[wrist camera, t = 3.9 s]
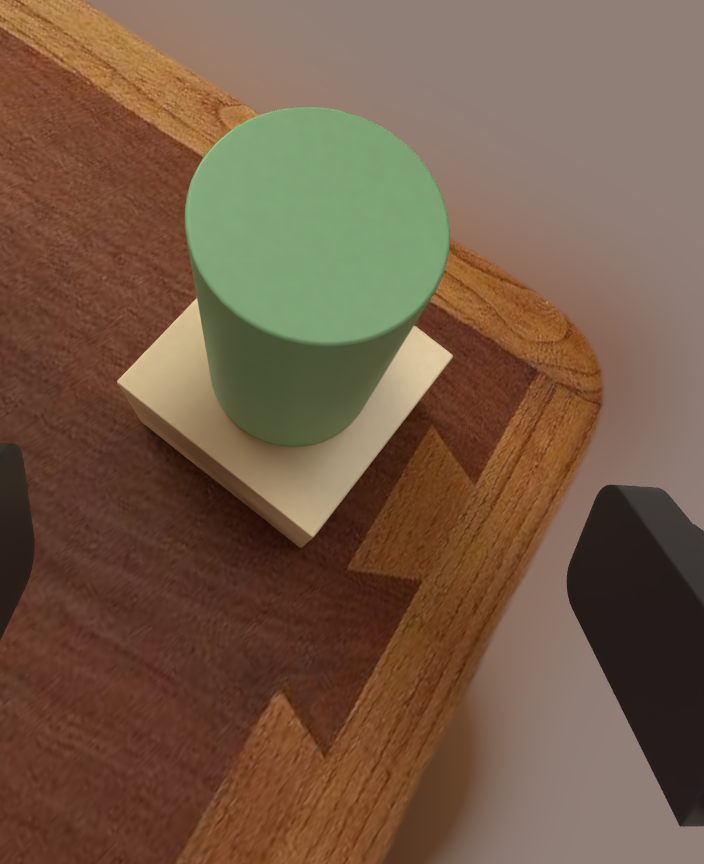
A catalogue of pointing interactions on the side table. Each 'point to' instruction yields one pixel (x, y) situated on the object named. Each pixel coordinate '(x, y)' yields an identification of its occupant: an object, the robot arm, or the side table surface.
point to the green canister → (310, 266)
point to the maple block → (259, 460)
